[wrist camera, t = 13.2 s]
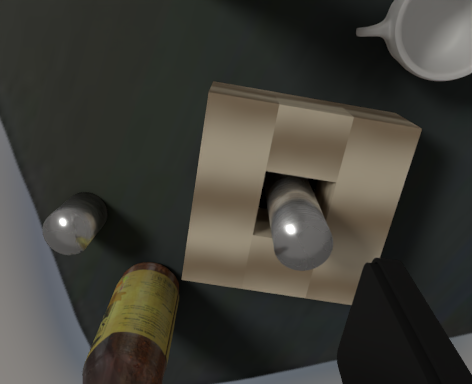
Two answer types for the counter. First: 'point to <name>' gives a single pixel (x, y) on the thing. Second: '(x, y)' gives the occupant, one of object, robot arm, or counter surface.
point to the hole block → (297, 164)
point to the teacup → (428, 37)
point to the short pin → (75, 223)
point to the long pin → (296, 222)
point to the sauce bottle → (135, 329)
